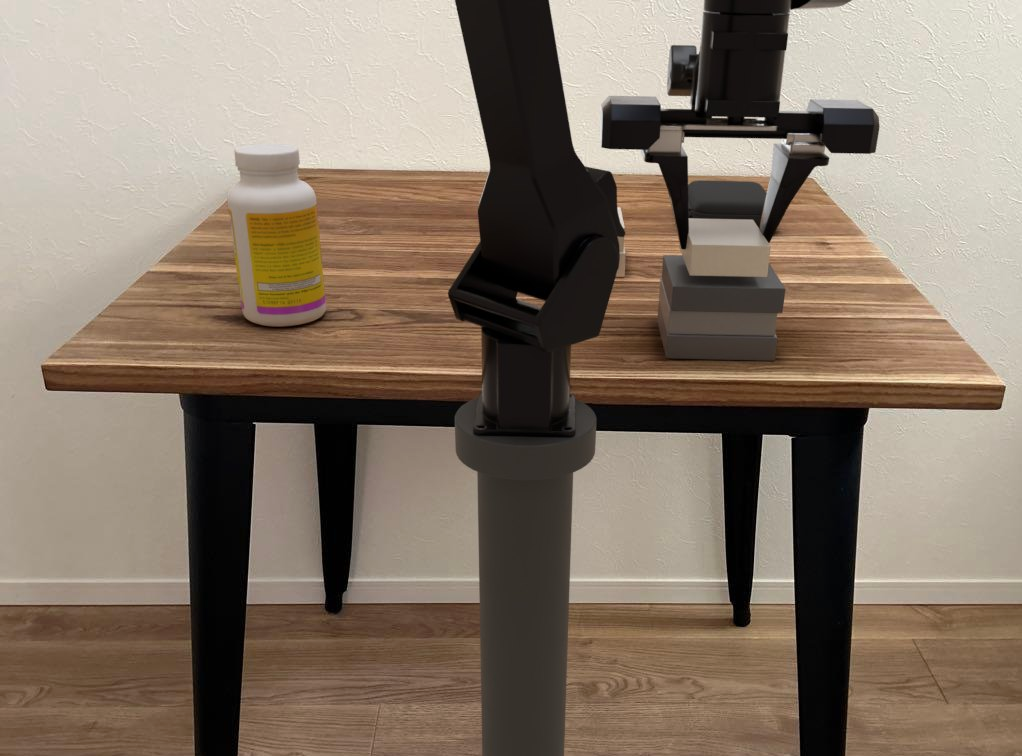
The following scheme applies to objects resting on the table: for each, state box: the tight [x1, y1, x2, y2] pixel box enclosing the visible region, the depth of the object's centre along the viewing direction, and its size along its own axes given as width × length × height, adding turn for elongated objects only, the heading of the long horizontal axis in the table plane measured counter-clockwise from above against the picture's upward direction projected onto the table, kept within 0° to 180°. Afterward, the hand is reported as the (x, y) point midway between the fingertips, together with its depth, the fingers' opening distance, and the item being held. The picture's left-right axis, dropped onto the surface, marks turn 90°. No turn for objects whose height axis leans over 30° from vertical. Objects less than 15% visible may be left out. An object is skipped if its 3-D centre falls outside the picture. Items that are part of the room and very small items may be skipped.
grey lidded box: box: [656, 254, 787, 362], centre depth 80 cm, size 9×8×5 cm
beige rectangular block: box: [678, 218, 772, 277], centre depth 78 cm, size 8×6×2 cm
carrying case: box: [688, 179, 767, 229], centre depth 116 cm, size 11×3×15 cm
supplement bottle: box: [226, 143, 327, 328], centre depth 82 cm, size 7×7×13 cm
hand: (722, 248), depth 78 cm, fingers closed on beige rectangular block, 5 cm apart
